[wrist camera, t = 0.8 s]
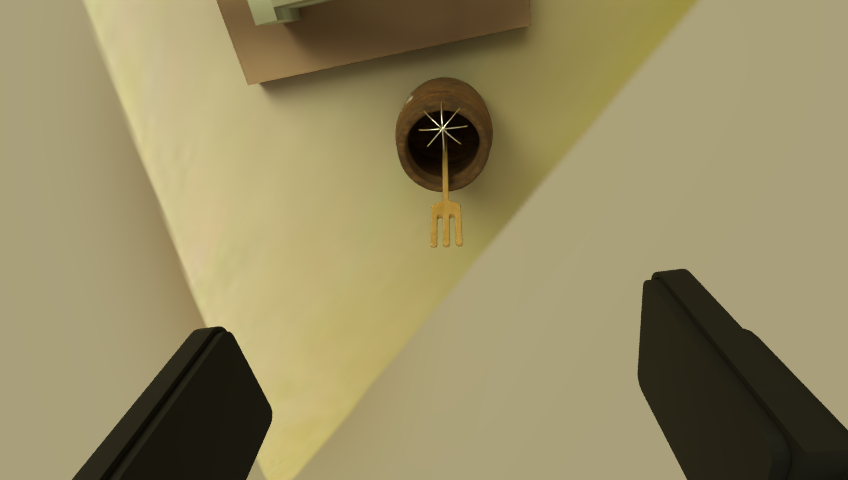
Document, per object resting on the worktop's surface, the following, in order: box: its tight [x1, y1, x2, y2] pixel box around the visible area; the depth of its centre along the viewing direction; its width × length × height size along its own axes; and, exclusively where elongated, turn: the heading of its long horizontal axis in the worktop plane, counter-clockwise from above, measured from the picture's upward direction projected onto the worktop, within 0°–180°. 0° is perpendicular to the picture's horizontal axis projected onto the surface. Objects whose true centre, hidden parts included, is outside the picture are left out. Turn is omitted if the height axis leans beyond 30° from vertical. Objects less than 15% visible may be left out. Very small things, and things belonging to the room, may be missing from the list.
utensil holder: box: [396, 78, 493, 248], centre depth 24 cm, size 6×6×12 cm
